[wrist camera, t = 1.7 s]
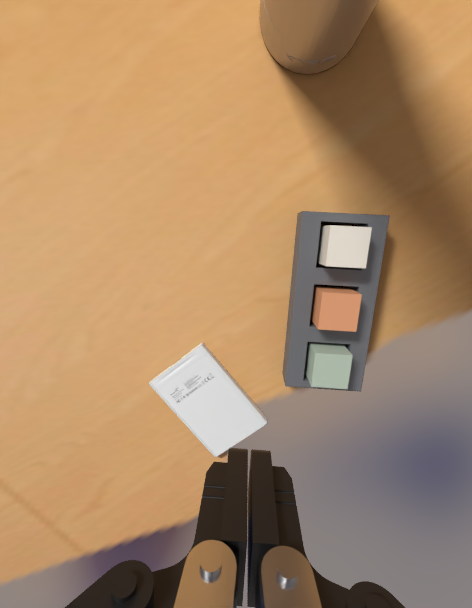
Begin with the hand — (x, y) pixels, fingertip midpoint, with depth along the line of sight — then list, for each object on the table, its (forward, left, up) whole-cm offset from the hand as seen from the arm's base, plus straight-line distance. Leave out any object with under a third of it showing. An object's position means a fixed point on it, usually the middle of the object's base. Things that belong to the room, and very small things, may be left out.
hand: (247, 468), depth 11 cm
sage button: (+4, +8, -21) cm, 23 cm away
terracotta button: (-2, +8, -21) cm, 23 cm away
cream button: (-8, +8, -21) cm, 24 cm away
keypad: (-2, +8, -23) cm, 24 cm away
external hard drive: (+11, -4, -24) cm, 26 cm away
